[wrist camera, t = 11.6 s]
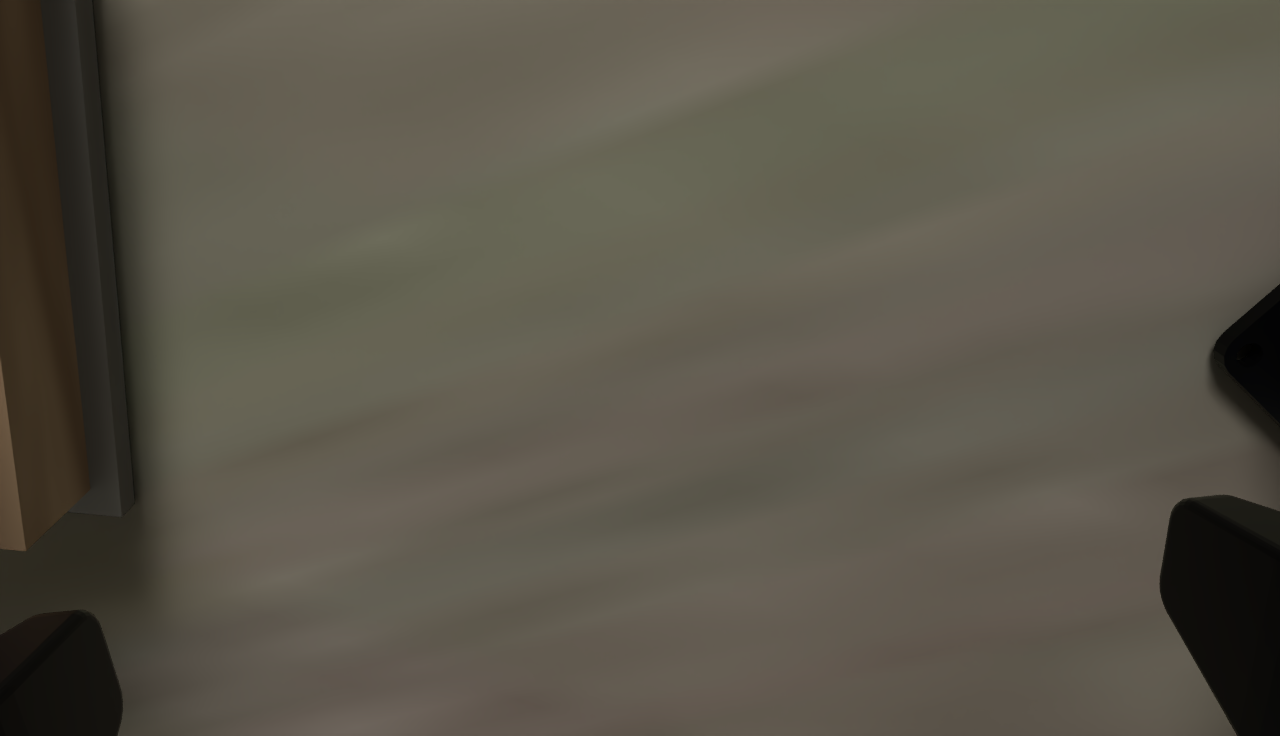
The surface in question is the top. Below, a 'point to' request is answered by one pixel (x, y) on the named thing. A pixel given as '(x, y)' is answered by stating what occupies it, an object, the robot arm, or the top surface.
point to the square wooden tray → (56, 280)
